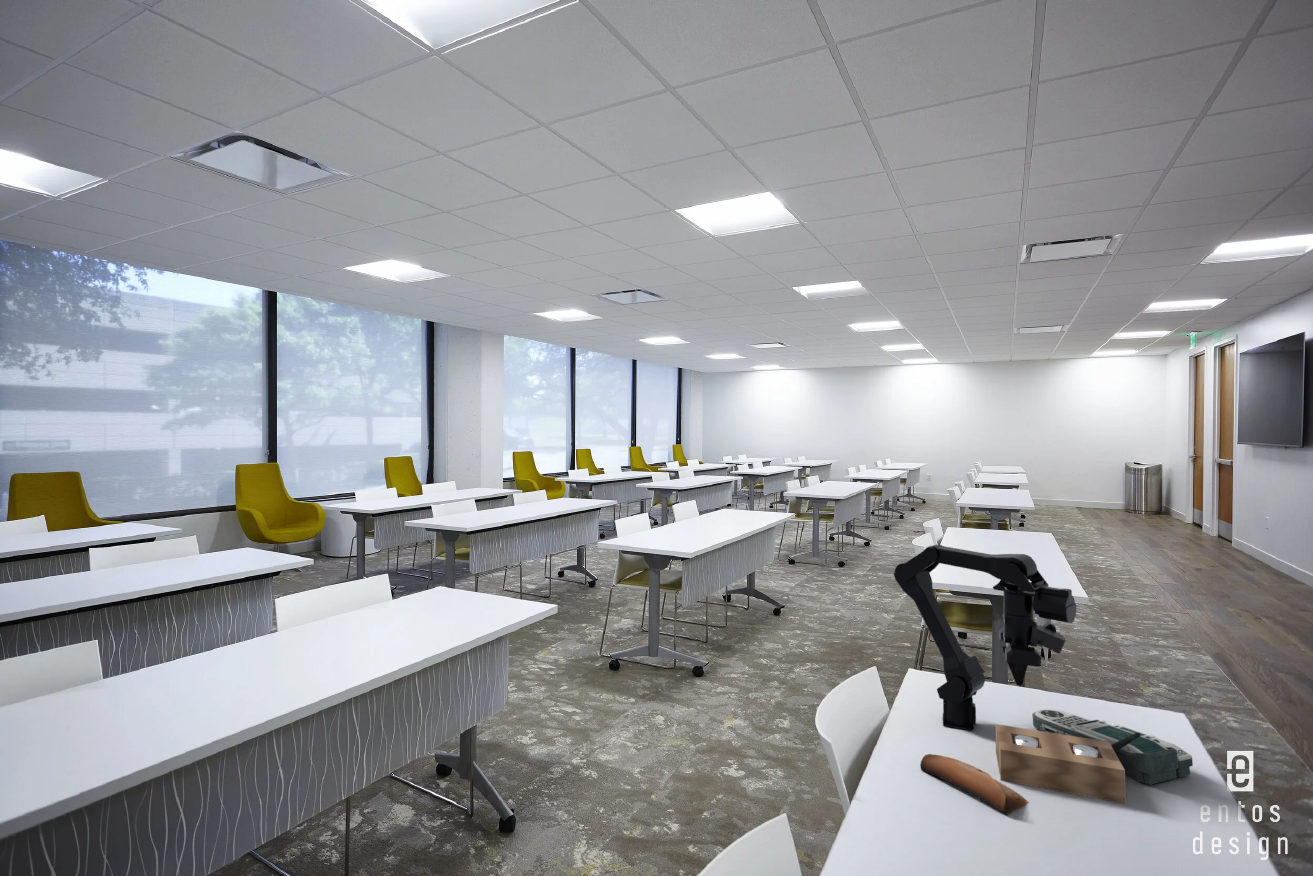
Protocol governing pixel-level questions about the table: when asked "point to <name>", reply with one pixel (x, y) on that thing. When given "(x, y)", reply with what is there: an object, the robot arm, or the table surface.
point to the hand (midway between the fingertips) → (1019, 684)
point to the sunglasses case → (973, 782)
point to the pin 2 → (1085, 750)
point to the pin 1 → (1026, 741)
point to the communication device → (1122, 745)
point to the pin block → (1060, 764)
